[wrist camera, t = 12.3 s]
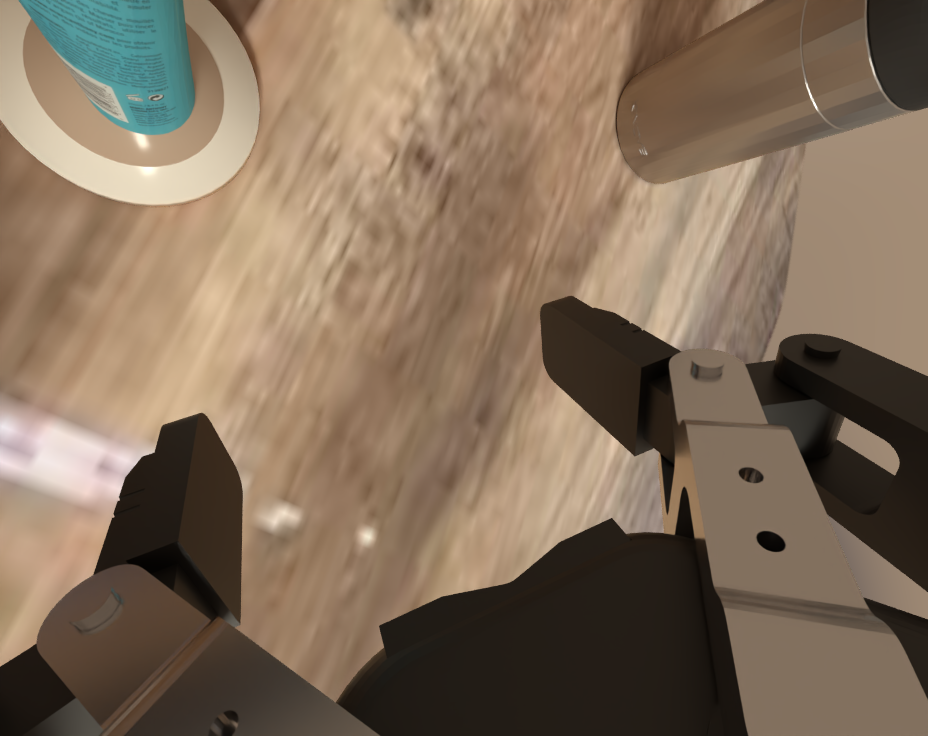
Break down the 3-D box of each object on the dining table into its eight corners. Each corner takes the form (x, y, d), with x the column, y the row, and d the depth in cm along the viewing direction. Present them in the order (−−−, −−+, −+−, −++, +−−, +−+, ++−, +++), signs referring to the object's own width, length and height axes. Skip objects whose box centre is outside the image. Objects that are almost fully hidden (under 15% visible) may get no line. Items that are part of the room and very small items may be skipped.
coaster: (208, -44, 26) (207, -62, 24) (290, 181, 29) (292, 176, 28) (-72, -34, 21) (-90, -54, 20) (60, 230, 24) (50, 227, 23)
